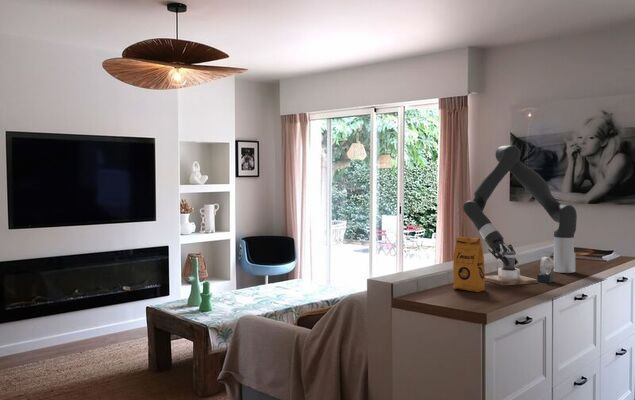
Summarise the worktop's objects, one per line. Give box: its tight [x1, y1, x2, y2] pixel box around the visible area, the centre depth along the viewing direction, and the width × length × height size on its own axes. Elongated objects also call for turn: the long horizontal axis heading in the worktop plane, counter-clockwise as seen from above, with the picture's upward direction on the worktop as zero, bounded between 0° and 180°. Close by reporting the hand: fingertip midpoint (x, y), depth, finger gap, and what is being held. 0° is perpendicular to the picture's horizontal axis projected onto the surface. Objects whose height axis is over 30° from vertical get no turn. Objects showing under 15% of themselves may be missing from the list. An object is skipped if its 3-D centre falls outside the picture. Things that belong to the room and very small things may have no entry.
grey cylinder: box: [502, 250, 516, 270], centre depth 258 cm, size 5×5×10 cm
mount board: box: [485, 274, 538, 286], centre depth 258 cm, size 18×16×2 cm
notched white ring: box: [497, 267, 521, 280], centre depth 258 cm, size 9×9×4 cm
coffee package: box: [452, 236, 486, 293], centre depth 238 cm, size 10×12×22 cm
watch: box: [536, 256, 555, 284], centre depth 258 cm, size 6×8×11 cm
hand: (512, 264), depth 257 cm, fingers closed on grey cylinder, 5 cm apart
